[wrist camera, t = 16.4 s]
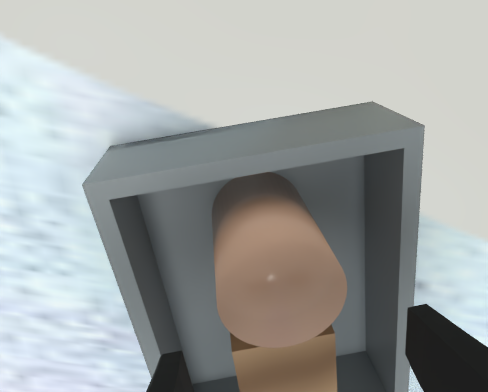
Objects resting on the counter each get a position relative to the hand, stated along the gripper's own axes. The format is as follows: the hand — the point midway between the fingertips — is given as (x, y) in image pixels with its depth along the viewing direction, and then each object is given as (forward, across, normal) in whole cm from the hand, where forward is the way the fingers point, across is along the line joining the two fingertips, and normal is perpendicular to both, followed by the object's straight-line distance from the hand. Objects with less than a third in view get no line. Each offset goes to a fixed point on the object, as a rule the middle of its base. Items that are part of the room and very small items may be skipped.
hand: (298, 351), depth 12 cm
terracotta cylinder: (+10, 0, 0) cm, 10 cm away
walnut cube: (+10, 0, +7) cm, 12 cm away
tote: (+10, 0, +4) cm, 11 cm away
